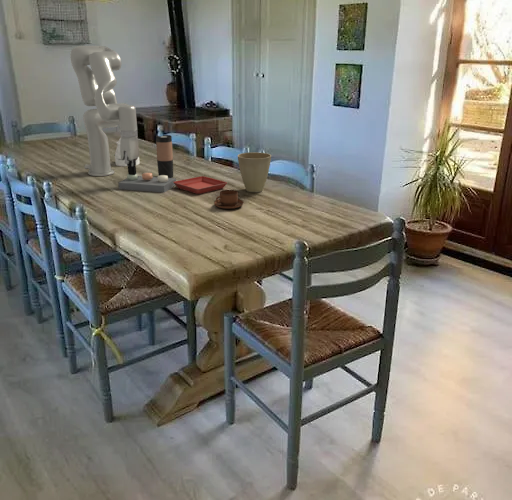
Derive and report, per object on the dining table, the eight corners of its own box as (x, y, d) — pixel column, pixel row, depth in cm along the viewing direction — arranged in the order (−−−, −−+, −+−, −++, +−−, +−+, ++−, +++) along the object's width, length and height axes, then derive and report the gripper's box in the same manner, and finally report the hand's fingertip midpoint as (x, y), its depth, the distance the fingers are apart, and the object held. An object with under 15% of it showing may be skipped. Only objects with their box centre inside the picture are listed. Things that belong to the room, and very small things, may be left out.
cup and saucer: (232, 212, 203) (232, 197, 201) (208, 207, 209) (207, 193, 207) (249, 205, 213) (249, 190, 211) (225, 201, 219) (225, 186, 216)
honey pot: (110, 164, 281) (107, 131, 274) (124, 160, 292) (122, 127, 285) (130, 167, 276) (127, 132, 270) (144, 162, 287) (141, 129, 281)
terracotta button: (140, 179, 235) (140, 174, 234) (145, 177, 239) (144, 172, 239) (150, 180, 234) (149, 175, 233) (154, 177, 238) (153, 173, 238)
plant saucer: (203, 182, 249) (202, 175, 248) (228, 189, 237) (228, 182, 236) (172, 188, 237) (172, 181, 236) (197, 196, 225) (197, 189, 224)
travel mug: (170, 179, 252) (168, 137, 245) (155, 178, 254) (153, 137, 246) (176, 175, 259) (174, 135, 252) (161, 174, 260) (159, 134, 253)
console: (119, 189, 234) (118, 182, 233) (132, 181, 247) (132, 175, 246) (164, 192, 230) (164, 185, 229) (176, 184, 242) (175, 178, 241)
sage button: (125, 179, 237) (125, 175, 236) (130, 177, 241) (129, 172, 240) (134, 180, 236) (134, 175, 235) (139, 178, 240) (138, 173, 240)
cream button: (156, 182, 234) (155, 177, 233) (160, 179, 238) (159, 174, 237) (165, 182, 233) (165, 177, 232) (169, 180, 237) (169, 175, 236)
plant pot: (274, 187, 239) (275, 153, 233) (264, 196, 226) (265, 159, 220) (244, 184, 243) (244, 151, 237) (232, 192, 230) (232, 157, 224)
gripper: (128, 131, 239) (132, 170, 245) (113, 136, 225) (117, 177, 232) (143, 131, 237) (146, 171, 244) (129, 137, 223) (132, 178, 230)
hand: (132, 174), depth 238 cm, fingers closed
